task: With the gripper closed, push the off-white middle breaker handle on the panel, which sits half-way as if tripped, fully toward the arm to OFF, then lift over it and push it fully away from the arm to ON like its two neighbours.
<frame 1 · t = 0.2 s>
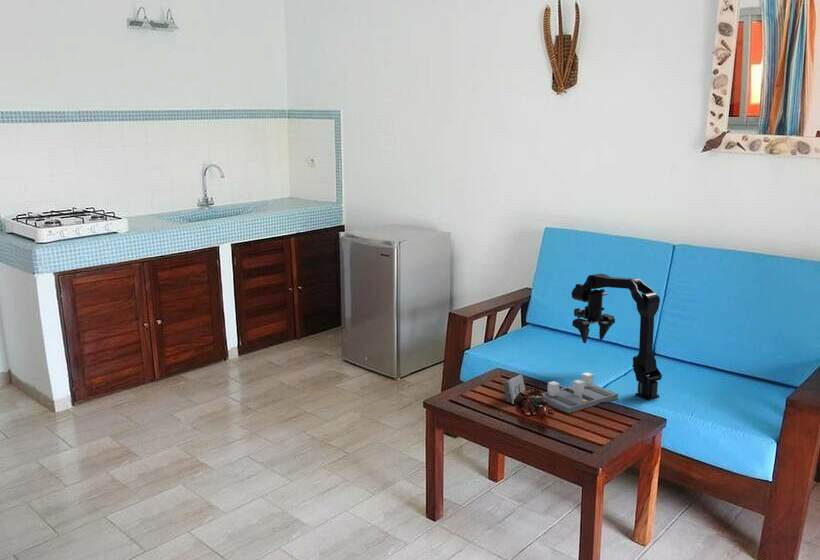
hand: (592, 341, 292), 15 cm above the table, tool pointing down, fingers open, 9 cm apart
electrical switch: (514, 401, 268), on the table
breaker panel: (577, 399, 269), on the table
breaker handle: (578, 389, 269), point 4 cm above the table, slide at 0.0 cm
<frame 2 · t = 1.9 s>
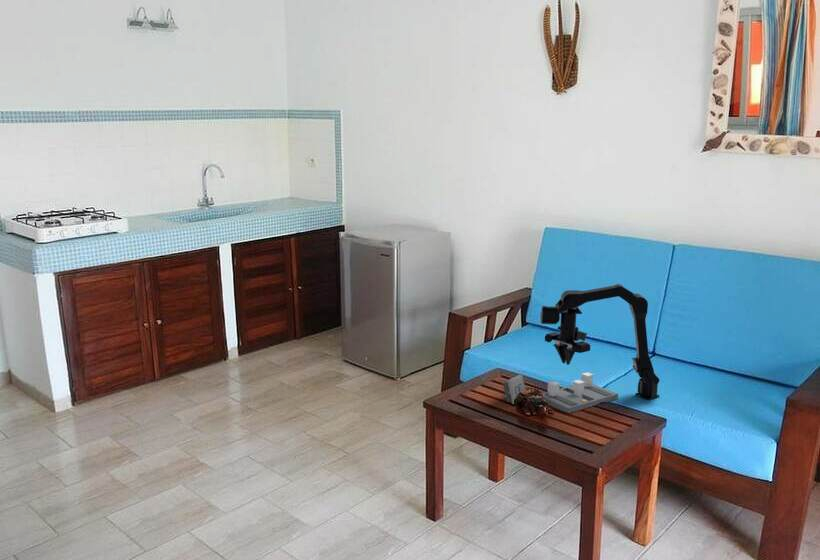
hand: (565, 363, 272), 12 cm above the table, tool pointing down, fingers closed
nothing on the table moved.
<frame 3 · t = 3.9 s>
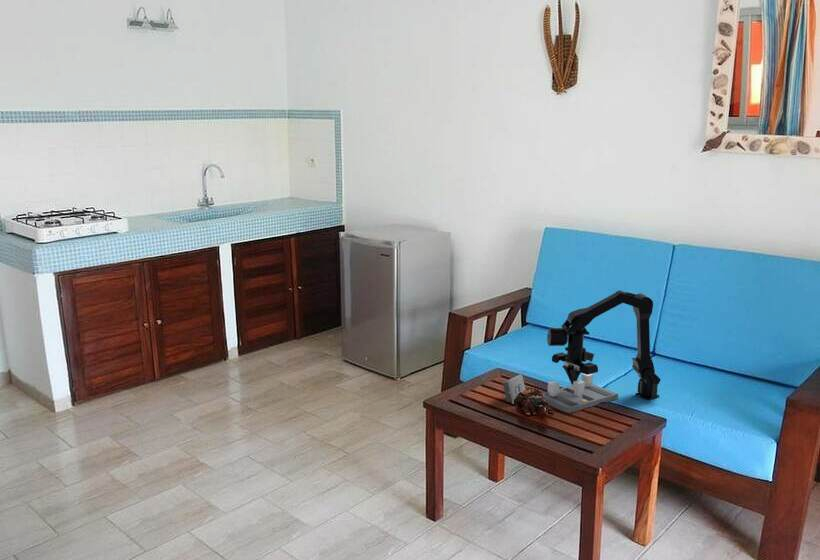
hand: (573, 384, 271), 5 cm above the table, tool pointing down, fingers closed
breaker handle: (578, 389, 268), point 4 cm above the table, slide at -0.1 cm, touching gripper
everything else where it was.
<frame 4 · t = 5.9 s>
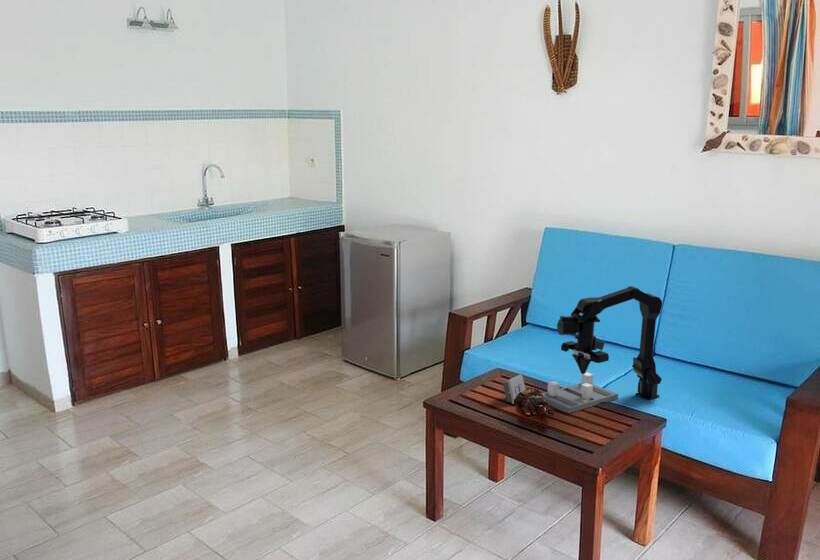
hand: (583, 373, 265), 11 cm above the table, tool pointing down, fingers closed
breaker handle: (586, 393, 265), point 4 cm above the table, slide at -4.1 cm
everything else where it was.
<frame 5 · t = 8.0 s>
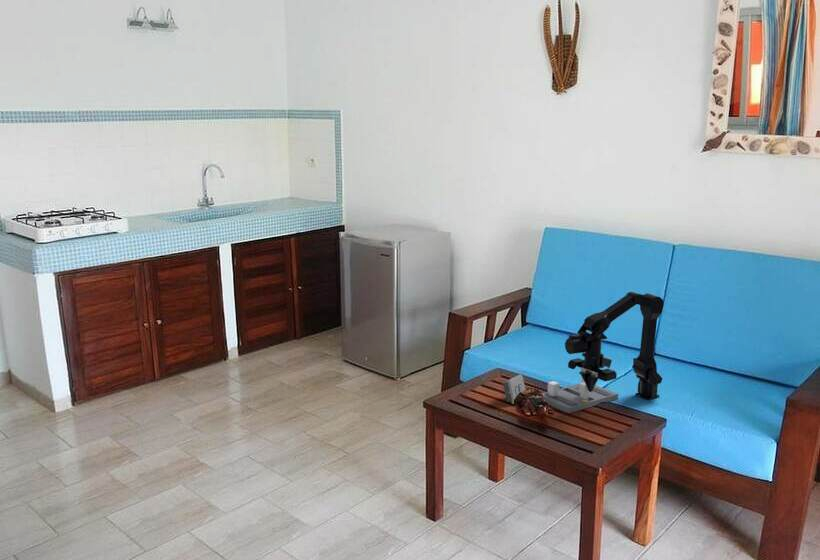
hand: (590, 391, 263), 5 cm above the table, tool pointing down, fingers closed
breaker handle: (584, 392, 266), point 4 cm above the table, slide at -3.1 cm, touching gripper
everything else where it was.
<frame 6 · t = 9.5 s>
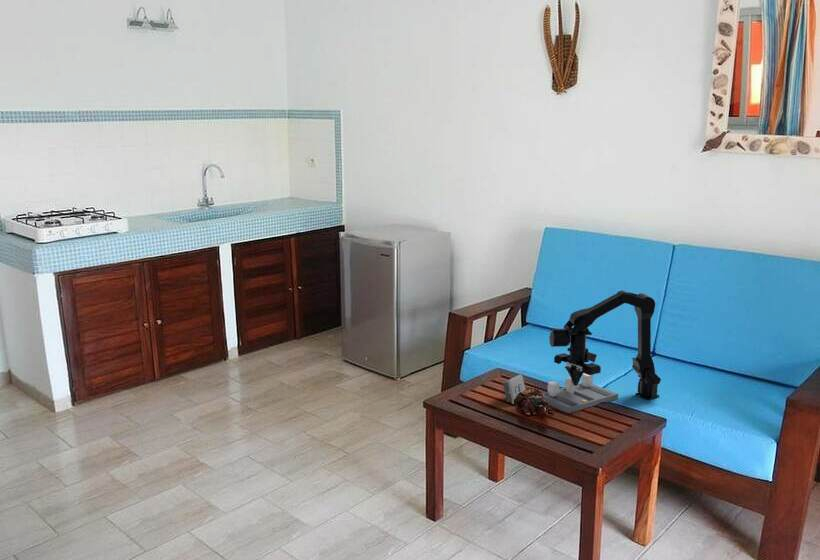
hand: (575, 385, 269), 5 cm above the table, tool pointing down, fingers closed
breaker handle: (570, 386, 272), point 4 cm above the table, slide at 4.1 cm, touching gripper
everything else where it was.
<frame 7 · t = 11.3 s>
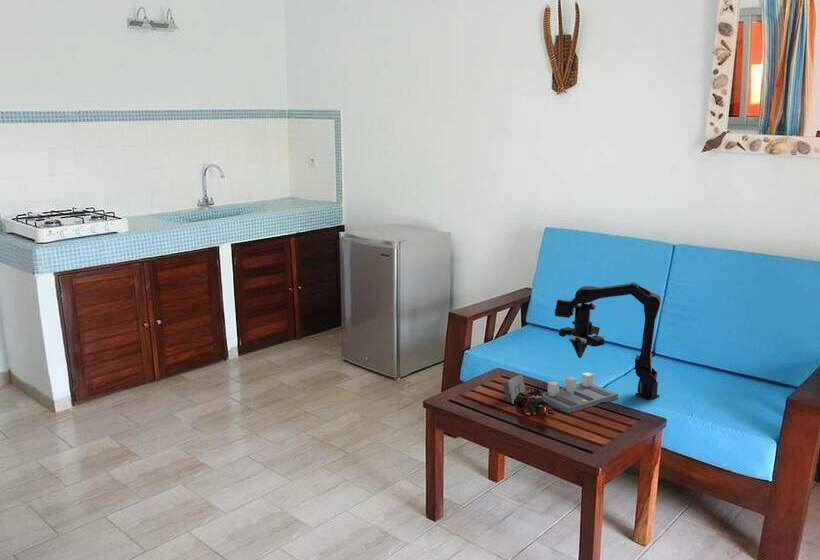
hand: (579, 357, 280), 12 cm above the table, tool pointing down, fingers closed
breaker handle: (570, 386, 272), point 4 cm above the table, slide at 4.1 cm
everything else where it was.
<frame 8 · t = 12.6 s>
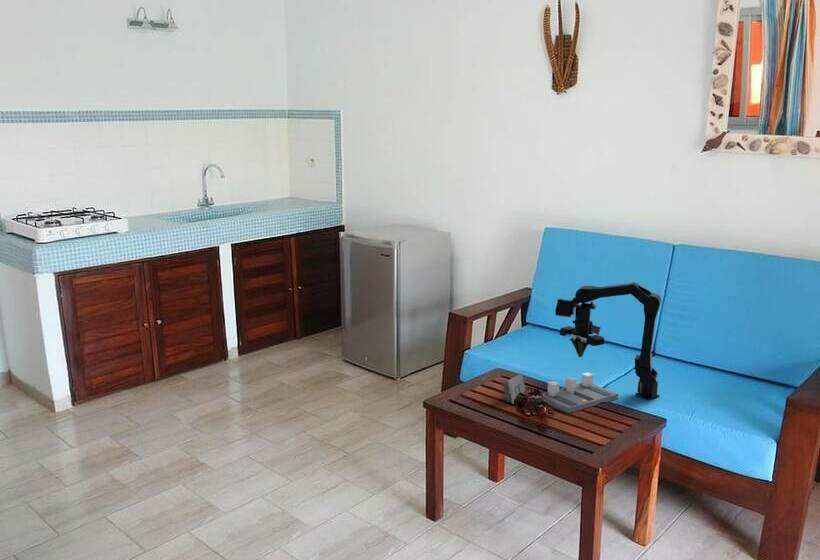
hand: (580, 356, 281), 12 cm above the table, tool pointing down, fingers closed
nothing on the table moved.
at the end: breaker handle slide at 4.1 cm; electrical switch moved 0.3 cm from its start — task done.
